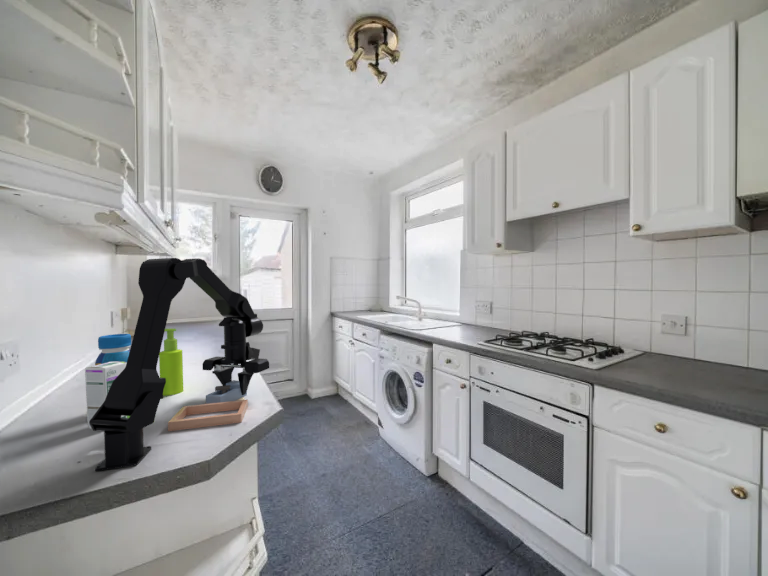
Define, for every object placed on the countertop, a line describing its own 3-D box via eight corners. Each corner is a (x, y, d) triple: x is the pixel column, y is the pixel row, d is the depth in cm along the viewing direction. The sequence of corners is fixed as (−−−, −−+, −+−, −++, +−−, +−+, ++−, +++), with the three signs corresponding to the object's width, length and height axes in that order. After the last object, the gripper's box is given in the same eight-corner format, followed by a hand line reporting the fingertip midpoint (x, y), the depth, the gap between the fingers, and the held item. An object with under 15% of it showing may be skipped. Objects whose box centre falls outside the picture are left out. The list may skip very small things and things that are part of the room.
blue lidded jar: (117, 417, 81) (115, 337, 81) (86, 416, 82) (84, 338, 82) (145, 404, 90) (142, 332, 90) (116, 404, 90) (114, 333, 90)
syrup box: (106, 430, 74) (105, 367, 73) (86, 429, 75) (84, 366, 75) (131, 420, 79) (129, 361, 79) (111, 418, 80) (109, 360, 80)
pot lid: (241, 408, 85) (241, 389, 85) (199, 413, 83) (198, 394, 83) (247, 396, 95) (246, 379, 95) (209, 399, 93) (209, 382, 92)
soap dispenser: (154, 395, 98) (152, 329, 98) (181, 389, 102) (179, 326, 102) (157, 400, 93) (155, 330, 93) (185, 394, 98) (183, 328, 98)
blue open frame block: (220, 408, 84) (220, 392, 84) (206, 406, 86) (205, 391, 86) (246, 394, 94) (246, 381, 94) (233, 393, 96) (233, 380, 96)
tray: (241, 424, 75) (241, 414, 75) (168, 433, 71) (168, 422, 71) (248, 409, 85) (247, 399, 85) (183, 416, 81) (183, 406, 81)
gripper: (279, 336, 99) (280, 387, 99) (228, 335, 104) (229, 383, 104) (255, 343, 88) (257, 400, 88) (200, 341, 93) (201, 395, 93)
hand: (236, 394), depth 94 cm, fingers closed on blue open frame block, 5 cm apart
